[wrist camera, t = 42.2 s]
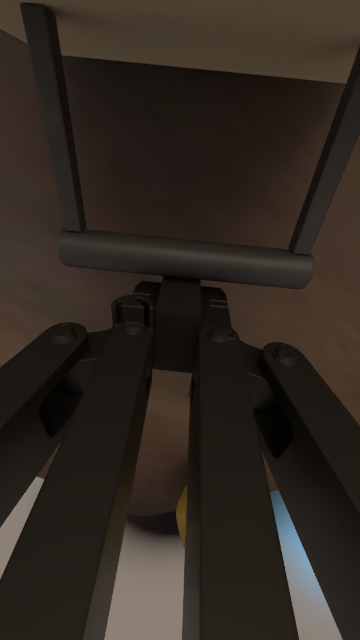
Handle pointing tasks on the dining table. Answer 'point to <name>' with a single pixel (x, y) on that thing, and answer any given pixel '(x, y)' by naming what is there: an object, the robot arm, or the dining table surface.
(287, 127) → the dining table surface
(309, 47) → the drawer
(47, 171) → the dining table surface
